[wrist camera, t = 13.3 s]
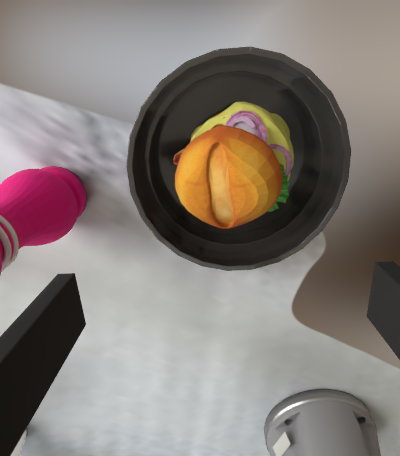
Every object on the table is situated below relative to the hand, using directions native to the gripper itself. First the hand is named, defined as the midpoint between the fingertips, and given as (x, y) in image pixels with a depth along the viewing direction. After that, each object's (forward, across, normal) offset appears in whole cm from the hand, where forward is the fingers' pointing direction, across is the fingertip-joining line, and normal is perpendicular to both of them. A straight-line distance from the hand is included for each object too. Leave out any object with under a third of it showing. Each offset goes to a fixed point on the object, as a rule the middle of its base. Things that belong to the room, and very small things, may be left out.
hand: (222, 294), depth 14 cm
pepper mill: (+21, +17, 0) cm, 27 cm away
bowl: (+21, -2, -3) cm, 21 cm away
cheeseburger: (+21, -2, -3) cm, 21 cm away
